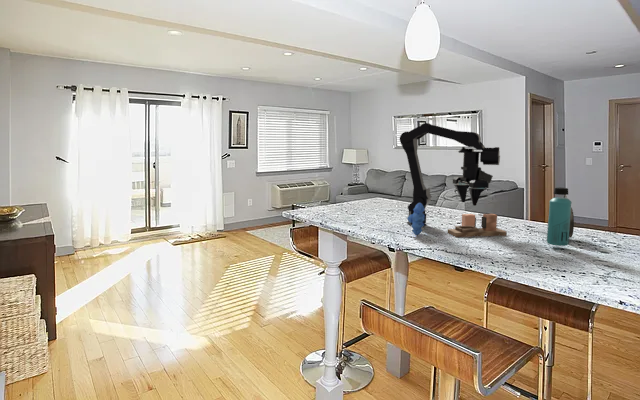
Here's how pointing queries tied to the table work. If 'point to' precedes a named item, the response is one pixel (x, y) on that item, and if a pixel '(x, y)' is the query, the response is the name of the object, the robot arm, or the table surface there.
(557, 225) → the beverage bottle
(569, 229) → the alarm clock
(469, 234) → the rail
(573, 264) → the table surface
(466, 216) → the salmon and grey block
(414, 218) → the grapes
